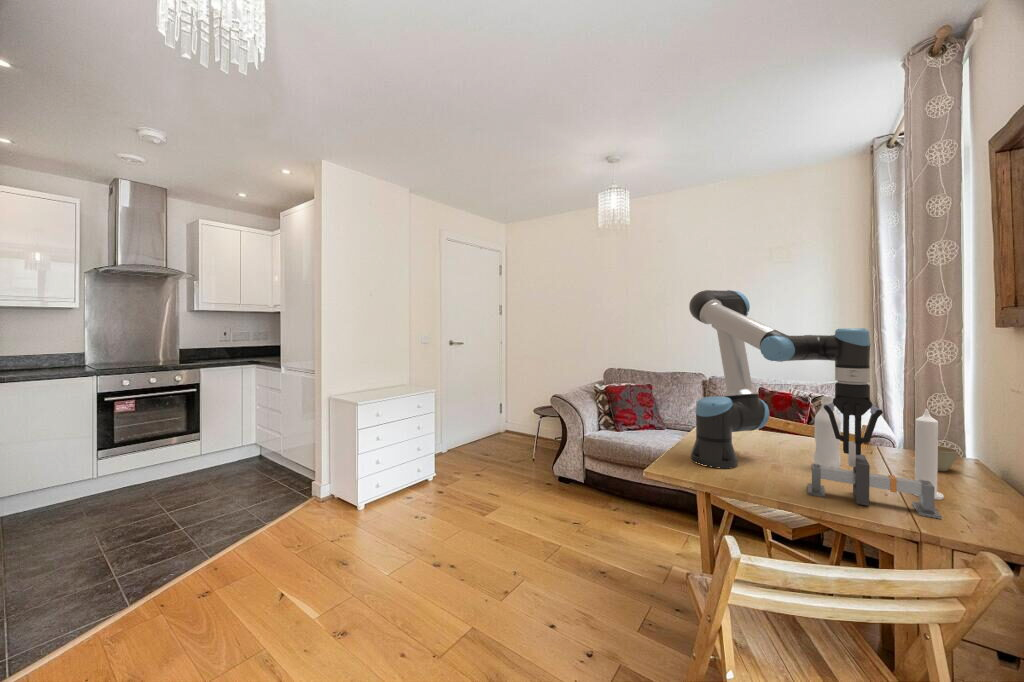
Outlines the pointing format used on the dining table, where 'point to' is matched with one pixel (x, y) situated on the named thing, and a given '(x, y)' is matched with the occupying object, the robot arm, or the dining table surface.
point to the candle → (927, 451)
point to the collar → (861, 480)
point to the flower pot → (946, 458)
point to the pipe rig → (878, 486)
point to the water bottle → (826, 437)
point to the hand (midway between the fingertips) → (851, 465)
